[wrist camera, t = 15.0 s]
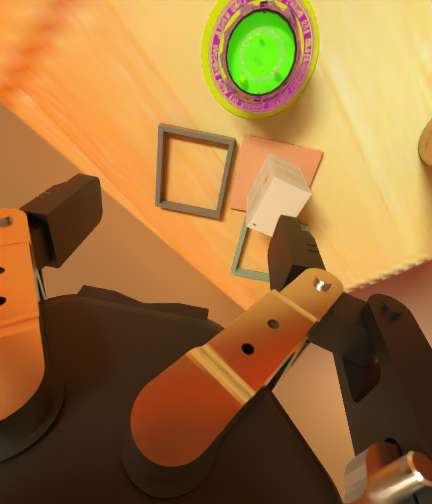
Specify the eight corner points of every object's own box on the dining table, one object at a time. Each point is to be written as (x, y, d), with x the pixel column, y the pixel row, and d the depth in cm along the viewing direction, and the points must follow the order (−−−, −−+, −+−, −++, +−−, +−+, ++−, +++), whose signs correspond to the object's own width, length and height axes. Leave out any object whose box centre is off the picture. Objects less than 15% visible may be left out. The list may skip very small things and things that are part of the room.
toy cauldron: (306, 119, 39) (324, 138, 30) (203, 118, 40) (190, 136, 32) (331, -29, 30) (366, -63, 21) (198, -24, 32) (178, -54, 23)
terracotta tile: (322, 150, 41) (323, 152, 41) (295, 218, 48) (295, 220, 48) (244, 134, 41) (244, 135, 40) (228, 205, 48) (228, 207, 47)
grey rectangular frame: (234, 138, 41) (234, 140, 40) (219, 214, 49) (218, 218, 48) (161, 123, 41) (158, 125, 40) (157, 202, 49) (155, 206, 48)
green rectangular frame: (308, 225, 49) (309, 229, 48) (284, 279, 57) (285, 284, 56) (246, 213, 49) (246, 217, 47) (231, 269, 57) (230, 274, 55)
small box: (275, 208, 47) (280, 242, 38) (245, 196, 46) (244, 228, 37) (301, 166, 42) (314, 194, 34) (268, 151, 41) (273, 176, 33)
